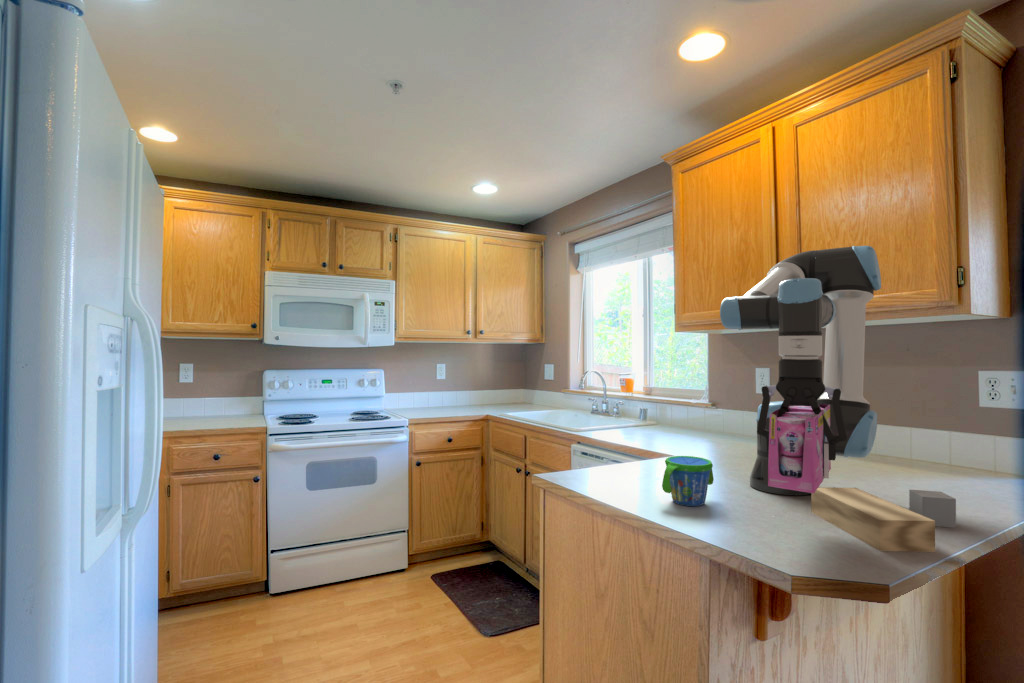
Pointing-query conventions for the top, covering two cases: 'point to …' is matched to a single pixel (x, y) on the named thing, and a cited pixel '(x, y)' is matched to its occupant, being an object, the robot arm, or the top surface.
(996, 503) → the top surface
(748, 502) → the top surface
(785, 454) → the gum box
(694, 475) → the snack cup
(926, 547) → the oak block
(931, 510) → the grey block
